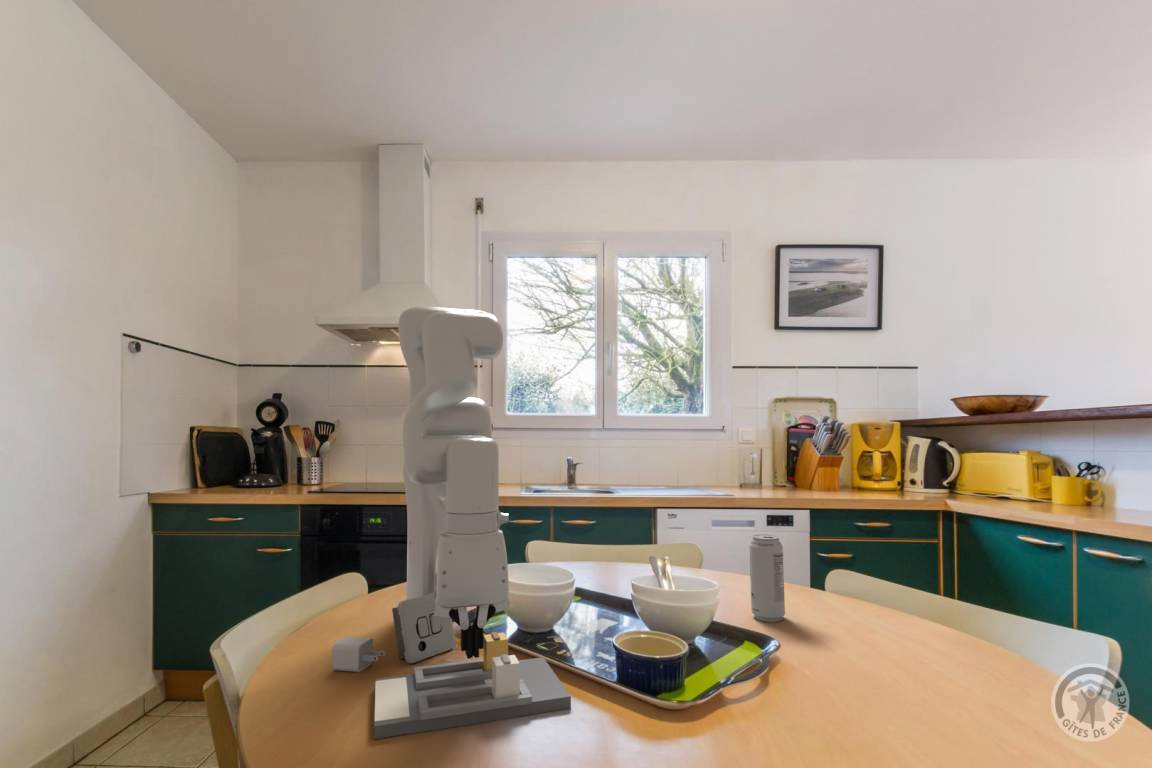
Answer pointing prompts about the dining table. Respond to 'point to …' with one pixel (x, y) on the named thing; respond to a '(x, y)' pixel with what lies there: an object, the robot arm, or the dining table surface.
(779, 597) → the energy drink can
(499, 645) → the yellow block with tab
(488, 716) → the switch board
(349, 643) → the usb wall charger
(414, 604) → the electrical switch
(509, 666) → the white tab
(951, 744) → the dining table surface
